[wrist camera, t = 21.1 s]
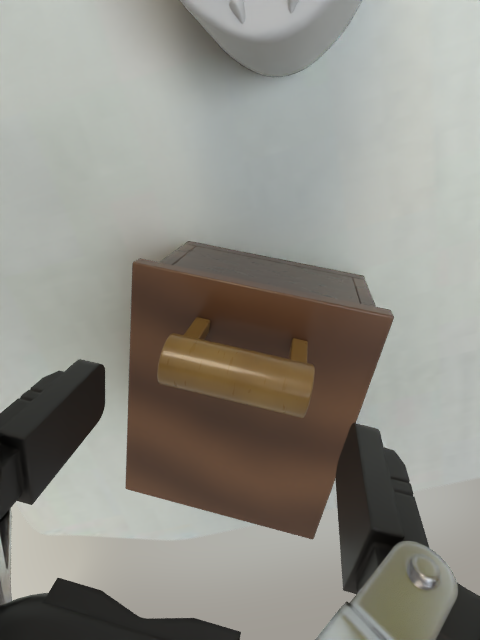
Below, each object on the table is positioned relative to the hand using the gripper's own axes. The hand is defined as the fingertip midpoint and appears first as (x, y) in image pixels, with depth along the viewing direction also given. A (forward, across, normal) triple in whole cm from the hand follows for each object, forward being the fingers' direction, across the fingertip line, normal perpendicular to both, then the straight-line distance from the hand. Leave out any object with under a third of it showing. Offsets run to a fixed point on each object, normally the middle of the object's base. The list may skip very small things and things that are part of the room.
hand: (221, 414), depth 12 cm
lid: (+7, 0, -5) cm, 8 cm away
